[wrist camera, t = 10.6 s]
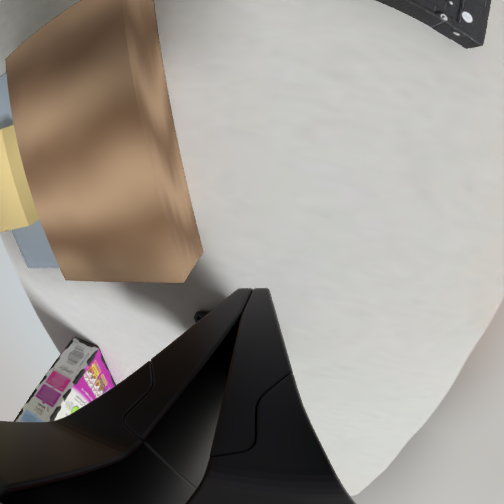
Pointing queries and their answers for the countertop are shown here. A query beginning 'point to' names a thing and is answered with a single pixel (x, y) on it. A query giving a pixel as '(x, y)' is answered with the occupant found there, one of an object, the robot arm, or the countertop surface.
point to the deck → (103, 145)
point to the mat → (34, 236)
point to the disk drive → (450, 17)
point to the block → (14, 185)
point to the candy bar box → (68, 384)
